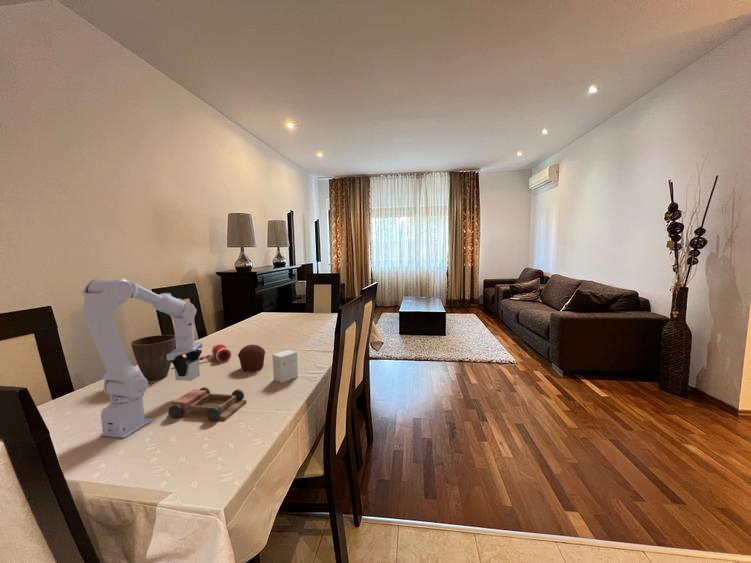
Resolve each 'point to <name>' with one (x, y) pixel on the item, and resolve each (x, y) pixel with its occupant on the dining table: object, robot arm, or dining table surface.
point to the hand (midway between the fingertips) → (187, 373)
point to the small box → (285, 366)
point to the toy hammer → (219, 353)
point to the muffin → (251, 358)
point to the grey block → (189, 371)
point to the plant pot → (153, 355)
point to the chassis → (207, 404)
